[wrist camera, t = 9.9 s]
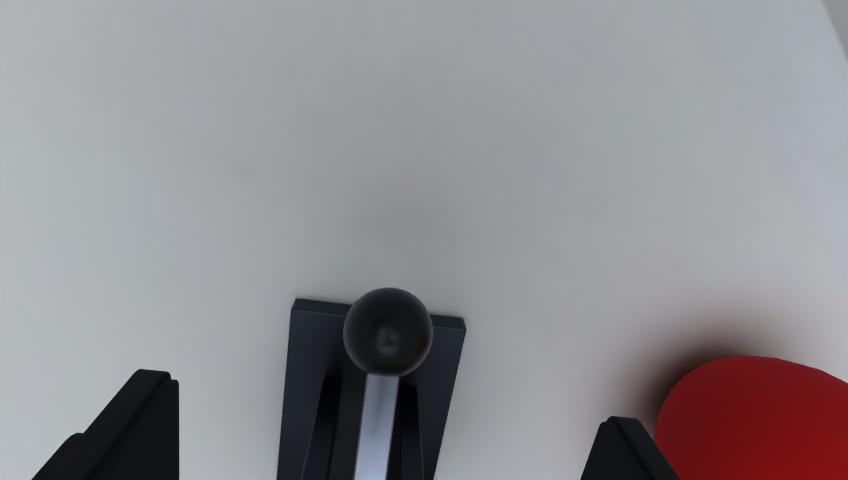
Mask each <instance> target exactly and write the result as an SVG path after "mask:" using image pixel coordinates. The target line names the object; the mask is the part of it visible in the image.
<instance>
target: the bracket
mask: <svg viewBox="0 0 848 480" xmlns="http://www.w3.org/2000/svg"><path fill="white" fill-rule="evenodd" d="M352 306H353V305H345V304H337V303H328V302H320V301H311V300H303V299H296V300H295V302H294V304H293V306H292V309H291V318H290V330H289V341H288V353H287V364H286V376H285V387H284V399H283V410H282V422H281V433H280V445H279V457H278V468H277V480H353V474H354V466H355V459H356V451H357V444H358V436H359V429H360V421H361V414H362V406H363V399H364V391H365V384H366V377H367V374H366V373H365V372H363V371H362V370H360V369H359V368H358V367H357V366H356V365H355V364H354V363H353V362H352V360H351V359H350V357H349V355H348V353H347V351H346V348H345V345H344V340H343V327H344V322H345V319H346V316H347V314H348V312H349V310H350V309H351V307H352ZM430 318H431V321H432V326H433V339H432V344H431V347H430V350H429V352H428V354H427V356H426V358H425V359H424V361H423V362H422V363H421V364H420V365H419V366H418V367H417V368H416V369H415V370H413V371H412V372H410V373H408V374H406V375H404V376H401V377H399V383H398V391H397V399H396V407H395V415H394V423H393V431H392V438H391V446H390V454H389V462H388V470H387V478H386V480H433V479H434V474H435V470H436V465H437V461H438V456H439V452H440V447H441V443H442V438H443V433H444V429H445V424H446V420H447V415H448V411H449V406H450V401H451V397H452V392H453V388H454V383H455V379H456V374H457V369H458V365H459V360H460V356H461V351H462V347H463V342H464V337H465V333H466V327H465V324H464V320H463V319H462V318H454V317H445V316H437V315H430Z"/></svg>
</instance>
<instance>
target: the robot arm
mask: <svg viewBox="0 0 848 480" xmlns="http://www.w3.org/2000/svg"><path fill="white" fill-rule="evenodd" d="M32 480H179V383H178V381H177V380H172V379H171V375H170V373H169V372H165V371H155V370H145V369H139V370H137V371H136V372H135V373H134V374H133V375H132V376H131V377H130V379H129V380H128V381H127V382H126V383H125V385H124V386H123V387H122V388H121V389H120V391H119V392H118V393H117V394H116V395H115V396H114V398H113V399H112V400H111V401H110V402H109V404H108V405H107V406H106V407H105V408H104V410H103V411H102V412H101V413H100V414H99V415H98V417H97V418H96V419H95V420H94V421H93V423H92V424H91V425H90V426H89V427H88V429H87V430H86V431H85V432H84V433H76V434H74V435H72V436H70V437H69V438H68V439H67V440H66V441H65V442H64V443H63V444H62V445H61V446H60V448H59V449H58V450H57V451H56V452H55V453H54V454H53V456H52V457H51V458H50V459H49V460H48V461H47V462H46V464H45V465H44V466H43V467H42V468H41V469H40V470H39V472H38V473H37V474H36V475H35V476H34V477H33V478H32ZM580 480H680V479H679V477H678V476H677V474H676V473H675V471H674V470H673V468H672V467H671V466H670V464H669V463H668V461H667V460H666V458H665V457H664V455H663V454H662V453H661V451H660V450H659V448H658V447H657V445H656V444H655V442H654V441H653V440H652V438H651V437H650V435H649V434H648V432H647V431H646V429H645V428H644V427H643V425H642V424H641V422H640V421H639V420H638V419H635V418H627V417H617V416H611V417H609V418H608V419H607V421H606V422H602V423H601V424H600V426H599V429H598V432H597V434H596V437H595V440H594V443H593V446H592V449H591V451H590V454H589V457H588V460H587V463H586V465H585V468H584V471H583V474H582V477H581V479H580Z"/></svg>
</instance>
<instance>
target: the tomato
mask: <svg viewBox="0 0 848 480" xmlns="http://www.w3.org/2000/svg"><path fill="white" fill-rule="evenodd" d="M653 441H654V442H655V444H656V445H657V447H658V448H659V450H660V451H661V453H662V454H663V455H664V457H665V458H666V460H667V461H668V463H669V464H670V466H671V467H672V468H673V470H674V471H675V473H676V474H677V476H678V477H679V479H680V480H848V383H846V382H844V381H842V380H840V379H838V378H836V377H834V376H832V375H830V374H828V373H826V372H824V371H822V370H818V369H815V368H811V367H808V366H804V365H801V364H797V363H793V362H789V361H785V360H781V359H778V358H770V357H758V356H742V355H738V356H731V357H724V358H720V359H716V360H713V361H710V362H708V363H705V364H703V365H701V366H699V367H697V368H695V369H693V370H692V371H690V372H689V373H688V374H686V375H685V376H683V377H682V378H681V379H680V380H679V381H678V382H677V383H676V384H675V385H674V386H673V388H672V389H671V390H670V392H669V393H668V395H667V397H666V399H665V401H664V404H663V406H662V408H661V410H660V412H659V415H658V418H657V421H656V425H655V431H654V437H653Z"/></svg>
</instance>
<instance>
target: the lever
mask: <svg viewBox="0 0 848 480" xmlns="http://www.w3.org/2000/svg"><path fill="white" fill-rule="evenodd" d="M432 339H433V326H432V321H431V318H430V315H429V313H428V311H427V309H426V308H425V306H424V305H423V304H422V302H421V301H420V300H419V299H418V298H416V297H415V296H414V295H412V294H411V293H409V292H407V291H405V290H402V289H398V288H389V287H388V288H380V289H376V290H373V291H370V292H368V293H366V294H365V295H363V296H362V297H360V298H359V299H358V300H357V301H356V302H355V303H354V304H353V306H352V307H351V309H350V310H349V312H348V314H347V316H346V319H345V322H344V327H343V340H344V345H345V348H346V351H347V353H348V355H349V357H350V359H351V360H352V362H353V363H354V364H355V365H356V366H357V367H358V368H359V369H360V370H362V371H363V372H365V373H366V374H367V377H366V384H365V391H364V399H363V406H362V414H361V421H360V429H359V436H358V444H357V451H356V459H355V466H354V474H353V480H386V478H387V470H388V462H389V454H390V446H391V438H392V431H393V423H394V415H395V407H396V399H397V391H398V383H399V377H401V376H404V375H406V374H408V373H410V372H412V371H413V370H415V369H416V368H417V367H418V366H419V365H420V364H421V363H422V362H423V361H424V359H425V358H426V356H427V354H428V352H429V350H430V347H431V344H432Z"/></svg>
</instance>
